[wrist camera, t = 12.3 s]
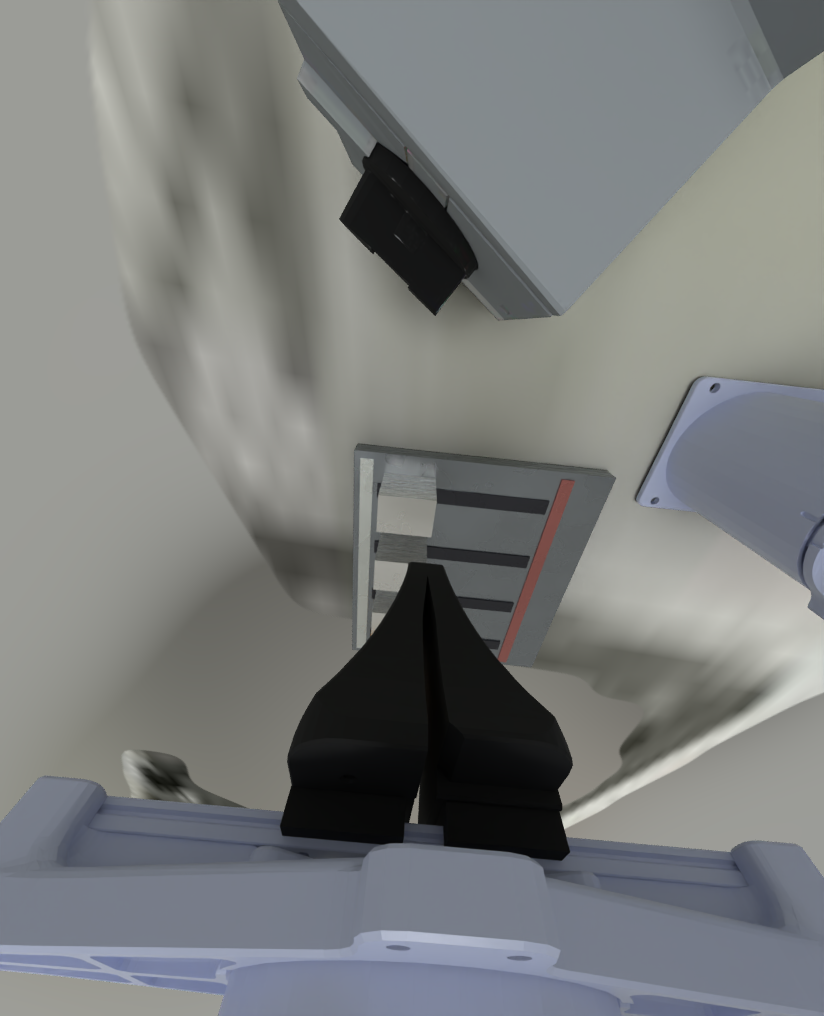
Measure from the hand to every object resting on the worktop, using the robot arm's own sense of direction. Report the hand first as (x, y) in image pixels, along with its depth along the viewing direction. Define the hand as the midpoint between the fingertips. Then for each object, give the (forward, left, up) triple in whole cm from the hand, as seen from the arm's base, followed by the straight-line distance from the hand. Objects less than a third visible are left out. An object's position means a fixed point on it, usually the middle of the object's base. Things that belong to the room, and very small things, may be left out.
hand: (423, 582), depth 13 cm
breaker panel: (-4, +7, -10) cm, 13 cm away
